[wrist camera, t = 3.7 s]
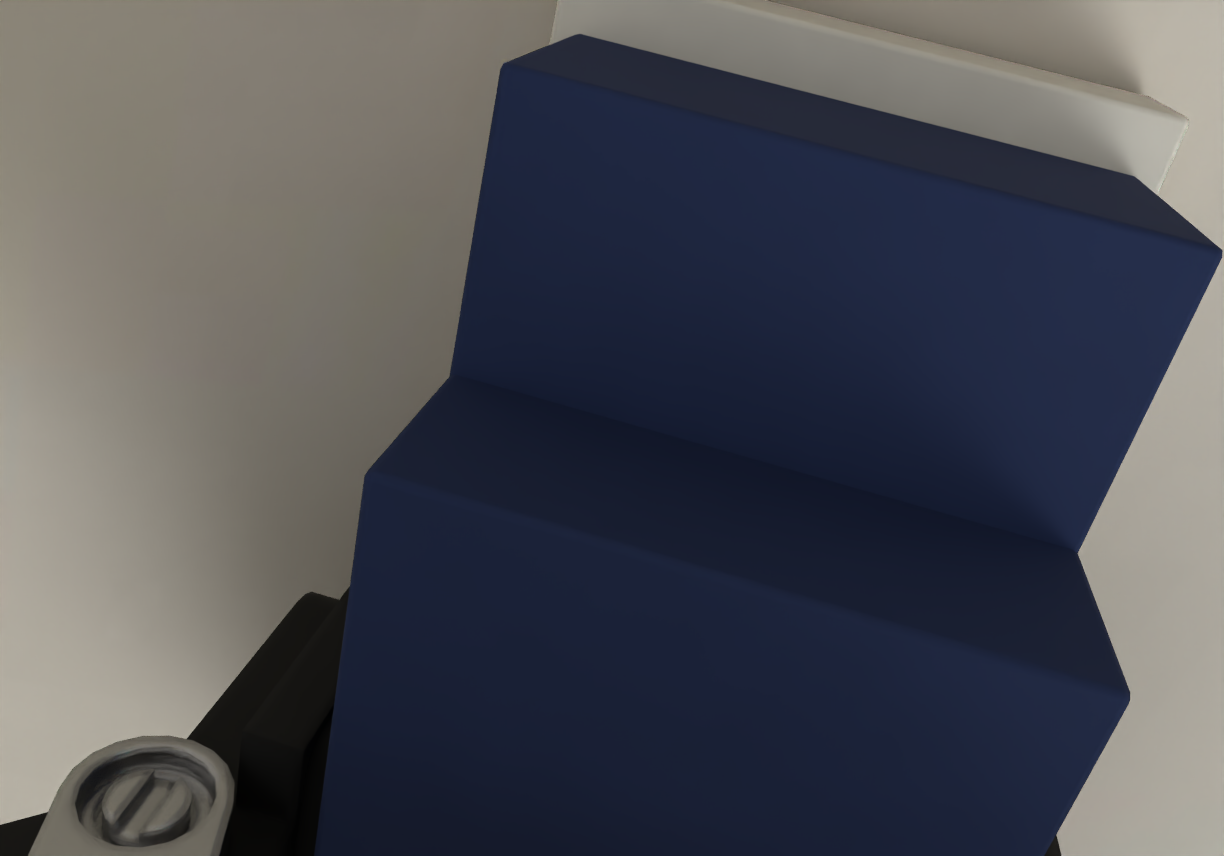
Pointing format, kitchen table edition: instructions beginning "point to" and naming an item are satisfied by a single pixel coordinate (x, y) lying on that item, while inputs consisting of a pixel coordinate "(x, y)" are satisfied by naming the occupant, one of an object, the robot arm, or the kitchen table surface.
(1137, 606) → the kitchen table surface
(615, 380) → the two-tone stepped block
